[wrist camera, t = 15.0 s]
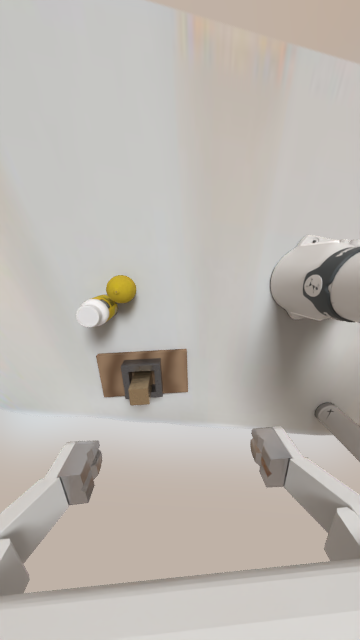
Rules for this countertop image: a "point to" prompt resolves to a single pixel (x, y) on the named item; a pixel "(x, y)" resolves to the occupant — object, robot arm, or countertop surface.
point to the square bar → (141, 388)
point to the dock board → (171, 371)
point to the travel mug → (340, 427)
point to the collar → (143, 365)
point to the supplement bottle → (96, 311)
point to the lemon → (121, 289)
